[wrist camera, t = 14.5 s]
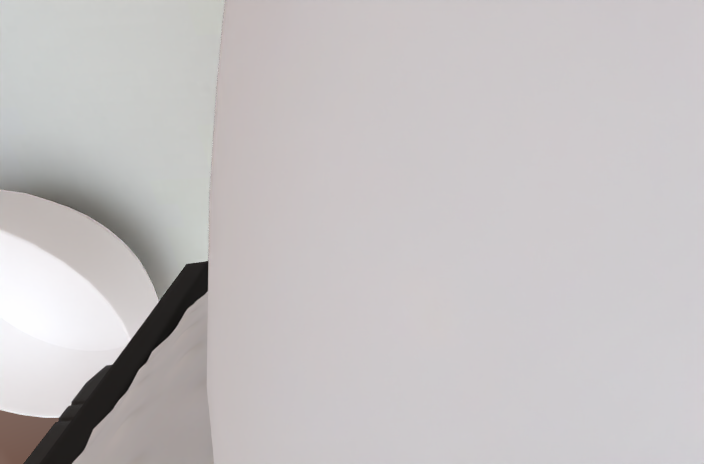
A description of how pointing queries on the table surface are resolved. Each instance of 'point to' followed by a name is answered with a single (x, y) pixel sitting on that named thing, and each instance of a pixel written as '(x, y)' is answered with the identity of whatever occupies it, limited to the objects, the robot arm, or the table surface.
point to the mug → (442, 241)
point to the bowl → (62, 302)
